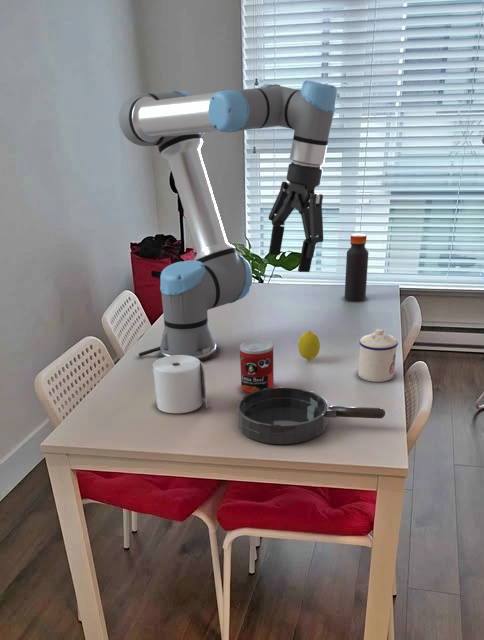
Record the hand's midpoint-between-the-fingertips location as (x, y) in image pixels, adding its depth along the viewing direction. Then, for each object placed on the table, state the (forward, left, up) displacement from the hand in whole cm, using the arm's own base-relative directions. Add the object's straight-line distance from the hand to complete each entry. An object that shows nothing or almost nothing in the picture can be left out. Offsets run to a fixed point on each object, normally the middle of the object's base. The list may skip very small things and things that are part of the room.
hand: (288, 262), depth 157 cm
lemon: (+5, +7, -27) cm, 28 cm away
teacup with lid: (+22, 0, -27) cm, 35 cm away
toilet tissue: (-22, -22, -27) cm, 41 cm away
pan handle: (+17, -30, -24) cm, 42 cm away
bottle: (+16, +62, -27) cm, 69 cm away
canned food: (-6, -12, -27) cm, 30 cm away
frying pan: (+2, -30, -27) cm, 40 cm away
